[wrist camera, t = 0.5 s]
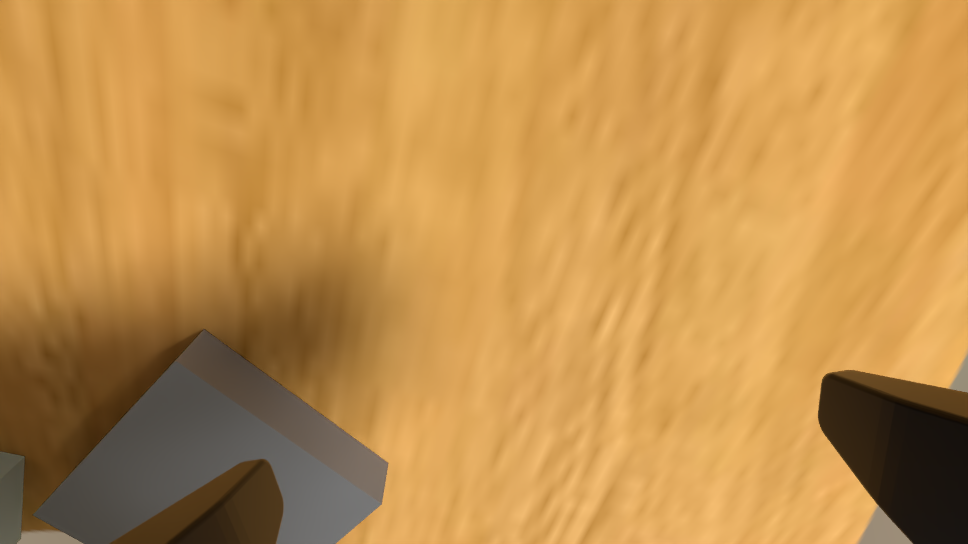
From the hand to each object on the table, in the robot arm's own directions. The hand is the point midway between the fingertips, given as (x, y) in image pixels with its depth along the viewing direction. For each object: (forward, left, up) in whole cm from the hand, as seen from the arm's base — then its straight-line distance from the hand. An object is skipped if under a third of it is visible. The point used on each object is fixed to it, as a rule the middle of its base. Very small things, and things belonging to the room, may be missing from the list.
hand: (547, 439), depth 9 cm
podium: (0, -17, -14) cm, 22 cm away
